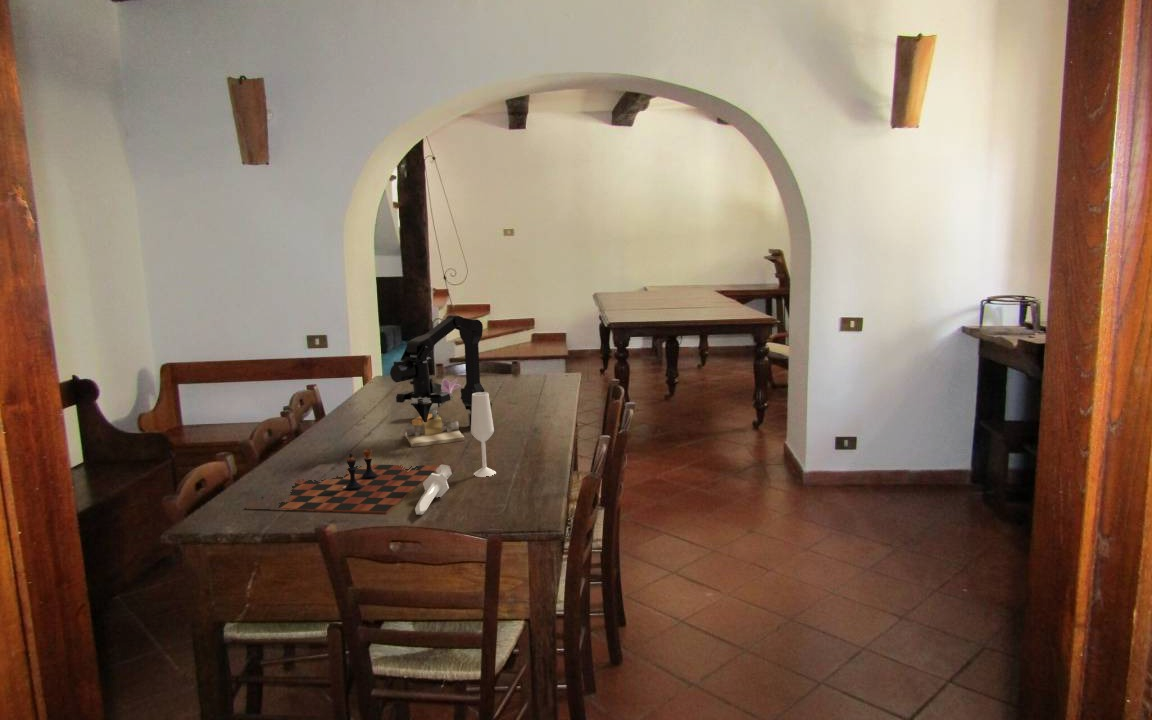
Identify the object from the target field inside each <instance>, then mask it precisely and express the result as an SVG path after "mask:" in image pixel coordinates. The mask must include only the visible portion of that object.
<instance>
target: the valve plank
mask: <svg viewBox="0 0 1152 720" xmlns="http://www.w3.org/2000/svg"><path fill="white" fill-rule="evenodd" d="M459 429H460V424H459V421H458V420H454V421H453V420H451V418H444V422H443V420H442V417H441V416H440V415H438V416H436V417H434V418H430V419H428V420H427V422H425V423H423V424H421V425H411V426H406V427H405V432H404V435H405V438H406V440H407V439H408V440H407V441H408V443H409V445H410V446H411V448H416V447H423V446H432V445H440V444H446V443H455V442H462V441H463V442H464V441H465V440H466V439H465V436H464V434H463V433H461V431H460V430H459Z"/></svg>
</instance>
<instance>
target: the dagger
mask: <svg viewBox="0 0 1152 720" xmlns="http://www.w3.org/2000/svg"><path fill="white" fill-rule="evenodd" d="M438 466H439V467H438V468H437V469H436V471H435V472H434V473H432V474H431V475H430V476H429V477H428V478H427V479H426V480H424V481H423V482H422V485H423V488H424V492H423V494H422V495H421V496H420V498H419V500H418V502H417V503H416V506H415V507H414V511H415V515H416V516H417V515H419V516H420V515H424V513H426V512H427V510H428V508H429V506H430V504H431V503H432V502H433V500H434V498H438V497H440V498H441V497H443V495H444V494H445V493H446V492H448V490H449V489H450V487H449V484H448V479H449V478H450V477H451V476H452V474H453V473H452V469H451V467H450V465H447V464H440V465H438Z"/></svg>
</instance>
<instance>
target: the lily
mask: <svg viewBox="0 0 1152 720" xmlns="http://www.w3.org/2000/svg"><path fill="white" fill-rule="evenodd" d="M457 381H458V378H455V379H454V380H452V381H450V380H448V379H447V378H443V379H442V381H441V389H442V392H448V393H449V394H450V398H452V400H453V401H455V399H454V396H453V391H454V390H456V389H458V388H460V387H462V385H461V384H459V383H457ZM451 396H452V397H451Z"/></svg>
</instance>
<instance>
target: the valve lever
mask: <svg viewBox="0 0 1152 720" xmlns="http://www.w3.org/2000/svg"><path fill="white" fill-rule="evenodd" d="M436 411H437V410H436ZM436 411H429V414H428V418H427V420H428V419H430V418H434V417H436ZM423 423H425V422H424V421H423V419H422V418H421V416H420V415H419V416H417V417H415V418H413V419H412V420H411V424H412V425H411V426H413V425H423Z"/></svg>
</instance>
